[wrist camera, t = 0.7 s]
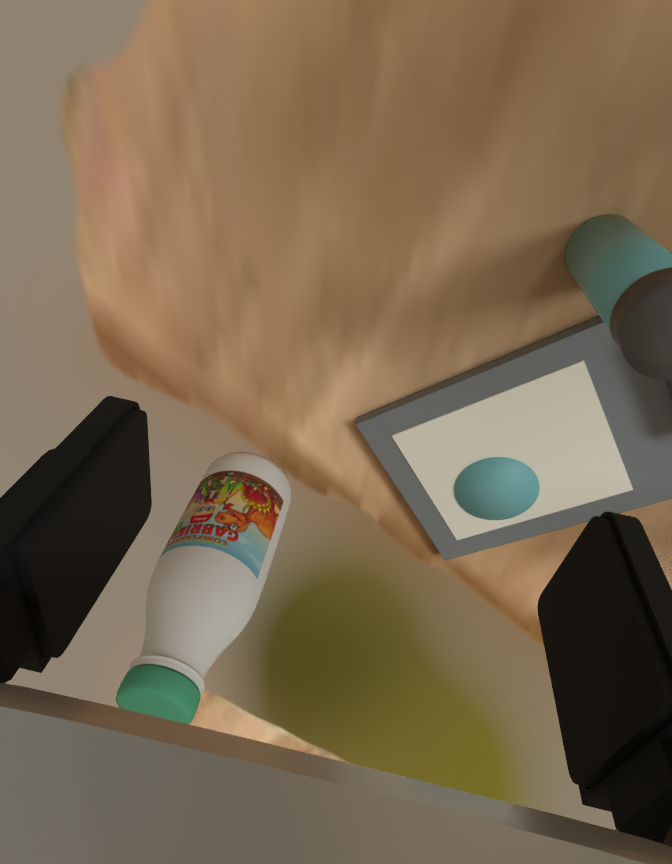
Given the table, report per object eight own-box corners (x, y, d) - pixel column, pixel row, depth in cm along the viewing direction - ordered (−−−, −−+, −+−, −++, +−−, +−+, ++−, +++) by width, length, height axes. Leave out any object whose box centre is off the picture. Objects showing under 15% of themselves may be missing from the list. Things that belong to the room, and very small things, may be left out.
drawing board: (637, 300, 32) (643, 307, 31) (693, 482, 39) (699, 492, 38) (357, 417, 40) (355, 426, 39) (444, 551, 47) (445, 562, 46)
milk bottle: (309, 502, 46) (244, 739, 30) (240, 525, 49) (147, 752, 33) (261, 436, 43) (158, 664, 26) (190, 465, 46) (58, 686, 29)
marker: (629, 198, 29) (729, 263, 19) (648, 264, 31) (748, 354, 21) (553, 235, 31) (610, 313, 21) (575, 296, 33) (637, 393, 23)
